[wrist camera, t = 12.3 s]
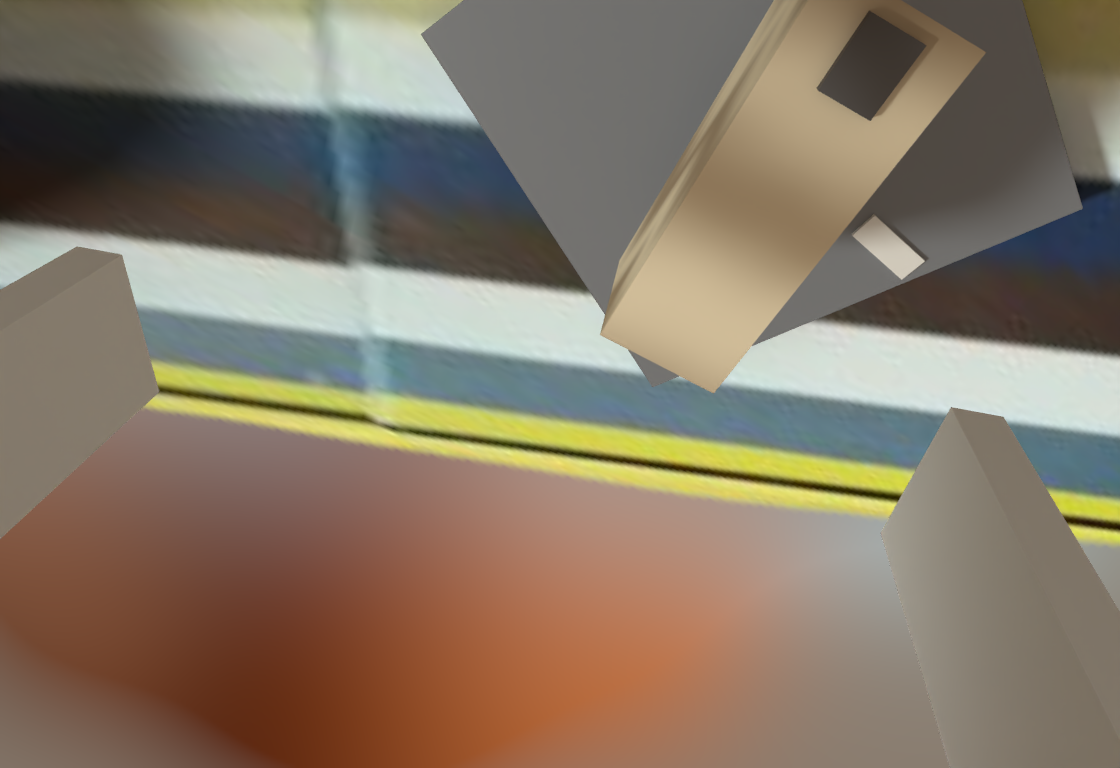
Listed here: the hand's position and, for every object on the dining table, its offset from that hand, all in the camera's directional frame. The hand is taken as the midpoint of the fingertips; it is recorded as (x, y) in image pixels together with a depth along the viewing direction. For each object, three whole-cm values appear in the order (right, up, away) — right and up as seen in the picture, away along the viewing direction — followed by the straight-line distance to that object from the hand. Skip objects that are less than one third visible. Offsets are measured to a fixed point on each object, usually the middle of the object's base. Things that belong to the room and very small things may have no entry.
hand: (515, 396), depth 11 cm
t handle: (+8, +8, +14) cm, 18 cm away
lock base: (+9, +12, +19) cm, 24 cm away
